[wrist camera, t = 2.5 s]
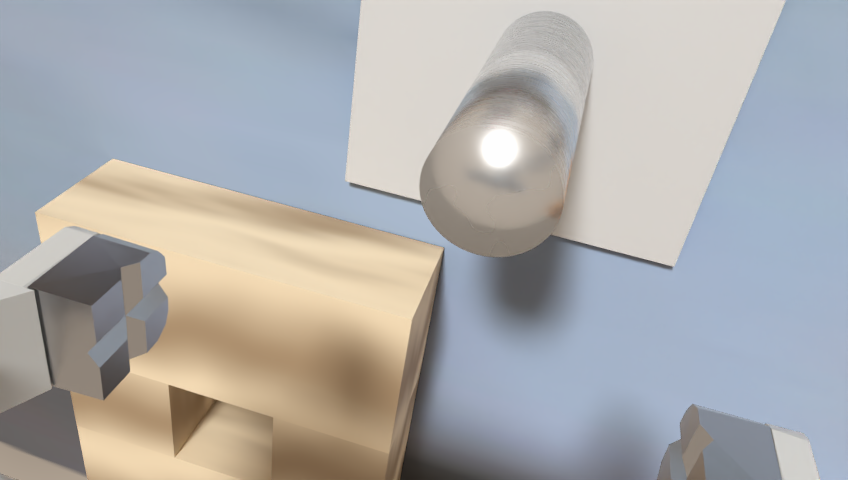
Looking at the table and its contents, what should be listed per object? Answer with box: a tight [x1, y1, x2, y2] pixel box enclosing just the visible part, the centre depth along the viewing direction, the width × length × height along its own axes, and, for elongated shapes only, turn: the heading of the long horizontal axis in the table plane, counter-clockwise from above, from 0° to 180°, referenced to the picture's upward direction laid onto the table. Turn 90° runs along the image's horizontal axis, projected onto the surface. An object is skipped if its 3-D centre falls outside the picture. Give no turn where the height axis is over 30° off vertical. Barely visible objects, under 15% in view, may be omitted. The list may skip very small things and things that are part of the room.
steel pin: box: [419, 11, 593, 257], centre depth 18 cm, size 3×3×9 cm
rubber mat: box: [345, 0, 786, 267], centre depth 22 cm, size 12×12×1 cm
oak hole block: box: [35, 159, 444, 480], centre depth 31 cm, size 18×14×4 cm
